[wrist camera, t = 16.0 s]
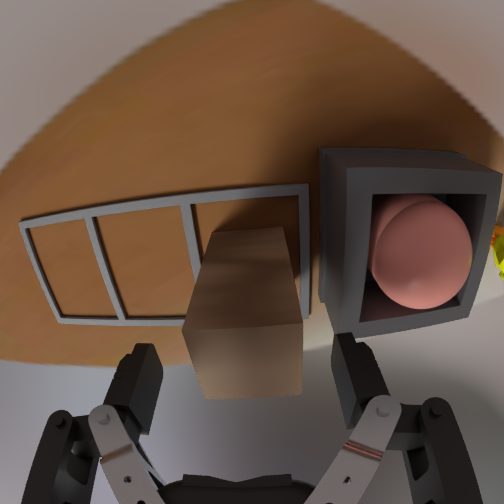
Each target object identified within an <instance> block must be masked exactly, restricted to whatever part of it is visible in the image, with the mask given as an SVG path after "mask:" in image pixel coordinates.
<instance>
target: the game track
mask: <svg viewBox="0 0 504 504" xmlns="http://www.w3.org/2000/svg"><path fill="white" fill-rule="evenodd" d="M291 195H298V205H299V241H300V310H301V315H302V319H309V278H310V224H309V184H308V183H303V184H286V185H271V186H258V187H245V188H234V189H223V190H213V191H204V192H195V193H186V194H177V195H169V196H162V197H154V198H147V199H140V200H133V201H126V202H120V203H113V204H107V205H101V206H95V207H89V208H84V209H78V210H73V211H67V212H62V213H57V214H52V215H47V216H42V217H37V218H33V219H28V220H24V221H20V222H18V224H19V227H20V230H21V233H22V237H23V240H24V242H25V245H26V248H27V251H28V254H29V256H30V259H31V262H32V264H33V267H34V269H35V272H36V274H37V277H38V279H39V282H40V284H41V286H42V289H43V291H44V293H45V295H46V298H47V300H48V302H49V304H50V306H51V308H52V310H53V312H54V315H55V317H56V319H57V321H58V323H64V324H83V325H112V326H183V324H184V321H185V317H160V318H127V317H126V314H125V312H124V309H123V307H122V304H121V301H120V299H119V296H118V293H117V290H116V287H115V285H114V282H113V279H112V276H111V273H110V270H109V267H108V264H107V261H106V258H105V254H104V251H103V248H102V245H101V241H100V238H99V234H98V231H97V227H96V224H95V220H94V217H95V216H102V215H108V214H115V213H122V212H129V211H137V210H144V209H152V208H160V207H169V206H177V205H180V207H181V213H182V218H183V224H184V229H185V234H186V240H187V245H188V250H189V255H190V260H191V265H192V270H193V274H194V279H195V284H196V281H197V277H198V274H199V271H200V268H201V265H202V264H201V258H200V253H199V247H198V242H197V236H196V231H195V225H194V219H193V213H192V207H191V204H196V203H205V202H215V201H226V200H237V199H249V198H262V197H276V196H291ZM82 218H85V222H86V226H87V229H88V233H89V236H90V239H91V243H92V246H93V249H94V252H95V255H96V259H97V262H98V265H99V268H100V271H101V273H102V276H103V279H104V282H105V285H106V287H107V290H108V293H109V295H110V298H111V301H112V303H113V306H114V308H115V311H116V313H117V316H118V318H109V317H71V316H62V315H61V313H60V310H59V308H58V306H57V304H56V302H55V300H54V297H53V295H52V293H51V291H50V288H49V286H48V284H47V281H46V279H45V276H44V274H43V271H42V269H41V266H40V264H39V261H38V258H37V256H36V253H35V250H34V247H33V244H32V241H31V239H30V235H29V232H28V229H27V228H31V227H37V226H42V225H47V224H53V223H59V222H64V221H70V220H76V219H82Z"/></svg>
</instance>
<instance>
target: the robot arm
mask: <svg viewBox="0 0 504 504" xmlns="http://www.w3.org/2000/svg"><path fill="white" fill-rule="evenodd" d="M331 367H332V372H333V376H334V380H335V384H336V388H337V392H338V395H339V399H340V404H341V408H342V412H343V416H344V420H345V424H346V429H352V428H354V431H353V433H352V435H351V436H350V438H349V439H348V441H347V442H346V443H345V444H344V446H343V447H342V449H341V450H340V452H339V454H338V455H337V457H336V458H335V460H334V461H333V463H332V465H331V466H330V468H329V469H328V471H327V472H326V474H325V475H324V477H323V478H322V479H321V481H320V482H319V484H318V485H317V487H316V486H314V485H312V484H310V483H306V482H304V481H299V480H294V479H292V478H291V474H283V475H270V476H261V477H257V478H254V479H250V480H245V481H241V482H231V481H227V480H222V479H219V478H215V477H211V476H202V475H187V474H184V475H183V480H180V481H175V482H172V483H169V484H166V483H165V481H164V480H163V479H162V478H161V476H160V475H159V474H158V472H157V471H156V469H155V468H154V466H153V464H152V463H151V461H150V459H149V458H148V456H147V454H146V452H145V451H144V449H143V447H142V445H141V443H140V442H139V437H140V434H143V435H149V431H150V427H151V423H152V419H153V414H154V410H155V407H156V402H157V399H158V395H159V391H160V387H161V383H162V379H163V367H162V364H161V362H160V359H159V357H158V354H157V352H156V349H155V347H154V345H153V344H152V343H137V344H136V345H135V347H134V349H133V352H132V354H126V355H125V356H124V358H123V359H122V360H121V361H120V362H119V365H118V367H117V370H116V372H115V375H114V379H112V382H111V385H110V387H109V390H108V392H107V395H106V397H105V400H104V403H103V405H100V406H97V407H96V408H94V409H93V410H92V411H91V412H90V414H89V415H84V416H77V417H72V415H71V414H70V413H69V412H68V411H65V410H58V411H56V412H54V413H53V414H51V415H50V417H49V419H48V421H47V424H46V426H45V429H44V431H43V435H42V437H41V440H40V443H39V445H38V449H37V451H36V454H35V457H34V460H33V463H32V467H31V470H30V473H29V477H28V480H27V483H26V487H25V491H24V494H23V498H22V502H21V504H90V501H91V495H92V490H93V485H94V480H95V475H96V471H97V466H98V462H99V457H102V459H100V464H101V466H102V469H103V471H104V473H105V476H106V478H107V480H108V482H109V484H110V486H111V488H112V490H113V492H114V494H115V496H116V498H117V500H118V502H119V504H357V503H358V501H359V499H360V498H361V496H362V494H363V492H364V491H365V489H366V488H367V485H368V484H369V482H370V480H371V479H372V477H373V474H374V473H375V471H376V469H377V467H378V465H379V463H380V461H381V459H382V455H383V453H384V451H385V450H402V454H403V458H404V462H405V467H406V471H407V476H408V480H409V485H410V490H411V495H412V500H413V504H483V501H482V499H481V494H480V490H479V486H478V483H477V480H476V476H475V473H474V470H473V467H472V463H471V460H470V457H469V454H468V451H467V449H466V446H465V443H464V440H463V437H462V434H461V432H460V429H459V426H458V424H457V421H456V419H455V416H454V414H453V411H452V409H451V406H450V405H449V403H448V402H447V401H445V400H444V399H442V398H438V397H433V398H429V399H428V400H426V401H425V402H424V403H423V405H406V404H401V403H399V402H398V401H397V400H396V399H395V398H393V397H391V395H390V394H389V392H388V389H387V387H386V384H385V381H384V379H383V376H382V374H381V371H380V369H379V367H378V364H377V362H376V360H375V357H374V354H373V352H372V350H371V348H370V347H369V346H367V345H366V344H365V343H364V342H359V343H356V341H355V339H354V336H353V334H352V332H346V333H338V334H334V339H333V347H332V355H331Z"/></svg>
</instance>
